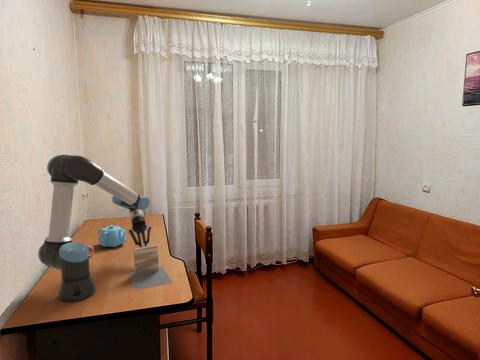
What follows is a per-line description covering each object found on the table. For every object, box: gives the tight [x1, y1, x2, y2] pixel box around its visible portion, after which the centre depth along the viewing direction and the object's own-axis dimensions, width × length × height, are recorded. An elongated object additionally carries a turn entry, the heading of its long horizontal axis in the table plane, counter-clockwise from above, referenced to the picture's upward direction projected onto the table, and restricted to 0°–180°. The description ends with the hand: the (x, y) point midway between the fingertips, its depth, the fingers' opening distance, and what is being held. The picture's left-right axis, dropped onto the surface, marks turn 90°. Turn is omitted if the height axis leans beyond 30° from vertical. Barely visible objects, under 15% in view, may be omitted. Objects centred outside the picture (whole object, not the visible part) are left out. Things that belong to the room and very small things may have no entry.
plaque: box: [133, 244, 160, 275], centre depth 167 cm, size 2×12×14 cm, turn 117°
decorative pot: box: [97, 224, 127, 248], centre depth 211 cm, size 16×16×14 cm
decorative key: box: [86, 245, 95, 258], centre depth 190 cm, size 7×1×20 cm
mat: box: [128, 265, 173, 291], centre depth 162 cm, size 22×18×1 cm
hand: (144, 255), depth 174 cm, fingers closed
